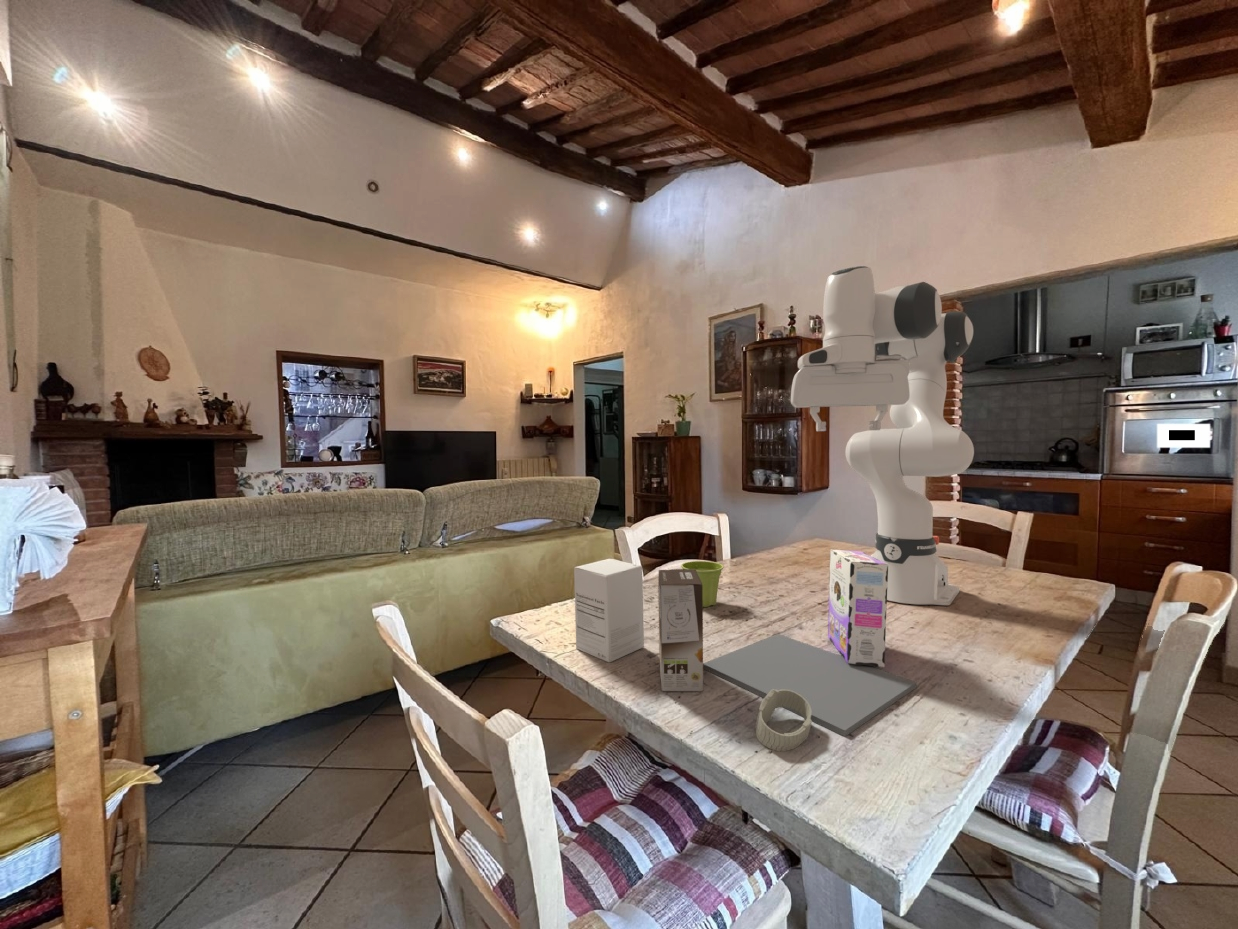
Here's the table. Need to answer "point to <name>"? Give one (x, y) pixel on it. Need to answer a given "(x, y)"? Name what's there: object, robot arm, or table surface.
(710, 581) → the plant pot
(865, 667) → the mat
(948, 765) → the table surface
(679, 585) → the coffee box
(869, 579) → the candy box
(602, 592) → the supplement box
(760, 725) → the beige ribbed ring
